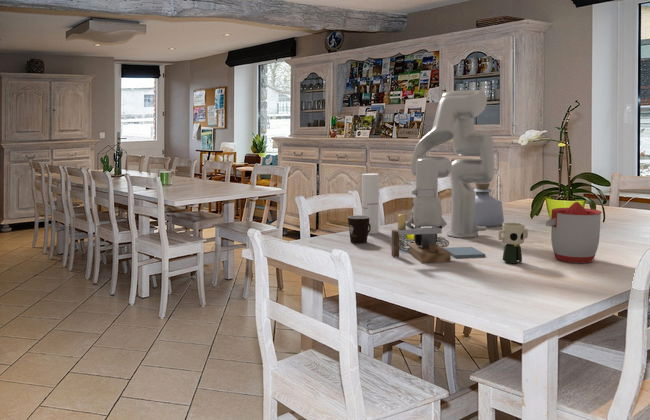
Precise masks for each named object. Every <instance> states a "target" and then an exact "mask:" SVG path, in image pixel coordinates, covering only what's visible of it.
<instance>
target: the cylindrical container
mask: <svg viewBox="0 0 650 420" xmlns="http://www.w3.org/2000/svg"><path fill="white" fill-rule="evenodd" d="M379 182H380V174H379V173H372V172H371V173H362V174H361V215H362V216H369V217H370V219H369V224H370V226H371V230H370V232H369V233H368V235H371V234H372V235H374V234H379V232H380V231H379V228H380V227H379V217H380V216H379V214H380V213H379V212H380V211H379V210H380V205H379V203H380V200H379V198H380V195H379V194H380V193H379V191H380V183H379ZM368 230H369V228H368Z"/></svg>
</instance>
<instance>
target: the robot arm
mask: <svg viewBox="0 0 650 420" xmlns="http://www.w3.org/2000/svg"><path fill="white" fill-rule="evenodd" d="M487 102H488V98H487V94H486V93H485V92H484V91H483V90H478V89H476V90H474V89H471V90H469V89H467V90H451V91H450V90H449V91H446V92H444V93H442V95H441V98H440V100H439V102H438V104H437V106H436V107H437V108H436V113H435V116H434V118H433V123H432V128H431V130H430V131H428V132H427V133H426V134H425V135H424V136H423V137H422V138H421V139H420V140H419V141H418V142H417V143H416V145H415V148H414V150H413V154H412V157H411V161H410V171H411V174H412V175H414V177H415V188H414V190H412V191H411V195H414V196H415V197H413V199H412V206H411V214H410V217H409V219H408V220H406V221H407V222H406V227H407V229H413V228H426V227H431V228H441V229H442V230H443V228H444V227H446V226H447V225H448V224H447V221H446V220H445V219H444V218H443V216H442V215H443V213H442V212H443V211H442V202H441V198H440V197H439V196H438V185H439V181H438V179H440V178H441V179H443V178H446V177H447V176H449V175H450V182H451V208H450V209H451V213H450V214H451V216H450V217H451V219H450V230H448V231H447V232H446V235H447V236H449V237H452V238H460V239H466V238H468V239H470V238H471V239H472V238H476V237H478V236H479V231H480V232H484V231H486V230H487V227H486V226H477V225H475V195H476V192H475V191H474V189H475V188H474V187H473V186H472V185H471V183H474V184H476V183H491V182H492V181H493V179H494V175H495V147H494V146H495V145H494V138H493V136H492V135H491V134H490V133H488V132H480V131H479V132H476V131H475V119H476V117H478V116H480V115H481V114H482V113H483V112H484V111H485V109H486V108H487ZM474 118H475V119H474ZM451 140H452V148H453V153H454V154H455V155H456V156H461V157H479V159H477V158H476V159H475V158H458V159H455V160H452V162H451V160H450V159H449V158H447V157H445V156H435V155H434V156H433V155H427V156H426V154H427V153H428V152H429V151H430V150H431V149H433V148H436V147H437V146H440V145H443V144H445V143H447V142H449V141H451ZM437 242H438V234H436V243H437ZM415 243H416V245H418V246H420V234H415Z"/></svg>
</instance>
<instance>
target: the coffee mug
mask: <svg viewBox="0 0 650 420" xmlns="http://www.w3.org/2000/svg"><path fill="white" fill-rule="evenodd" d="M369 219H370V217H369V216H362V214H360V215H357V214H356V215H349V216H347V222H348V223H347V224H348V231H349V241H350V243H351V244H355V245H356V244H357V245H358V244H359V245H361V244H366V243H368V235H369V234H368V233H369V232H370V230H371V226H370V224H369ZM368 228H369V230H368Z"/></svg>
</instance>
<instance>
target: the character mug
mask: <svg viewBox="0 0 650 420" xmlns="http://www.w3.org/2000/svg"><path fill="white" fill-rule="evenodd" d="M501 227H502V229H500V230H498V235H497V237H498V240H499V241H501V242H502V243H504V244H505V246H504V247H503V253H502V261H504V262H505V263H509V264H510V263H512V264H516V263H517V262H518V263H522V262H523V256H522V255H523V254H522V253H523V252H522V247H521V245H522V244H523V243H524V241H525V239H527V238H528V237H529V233H528V232H529V230H528V228H526V227H525V223H519V222H503V223H502V226H501Z"/></svg>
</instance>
